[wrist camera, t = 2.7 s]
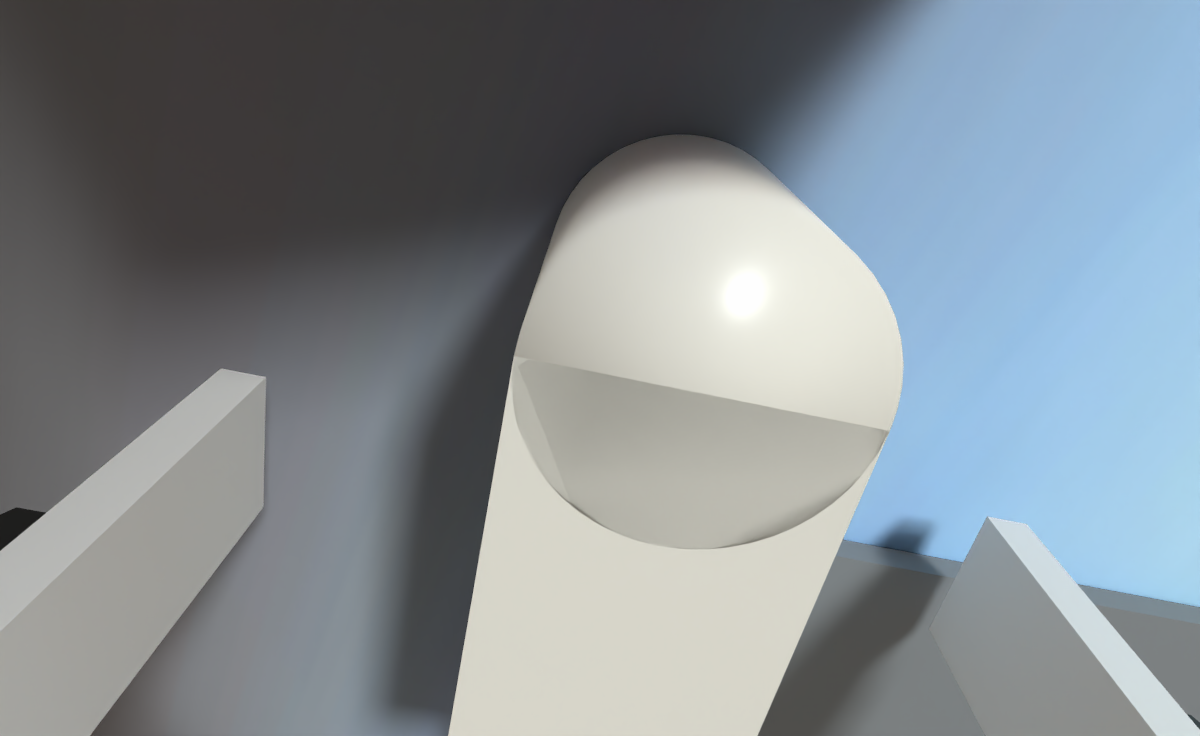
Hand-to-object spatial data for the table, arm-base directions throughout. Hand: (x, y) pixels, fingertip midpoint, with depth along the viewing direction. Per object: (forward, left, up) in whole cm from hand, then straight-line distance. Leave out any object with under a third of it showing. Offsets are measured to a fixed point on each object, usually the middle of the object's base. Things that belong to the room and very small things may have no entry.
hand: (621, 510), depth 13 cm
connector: (0, 0, -1) cm, 1 cm away
